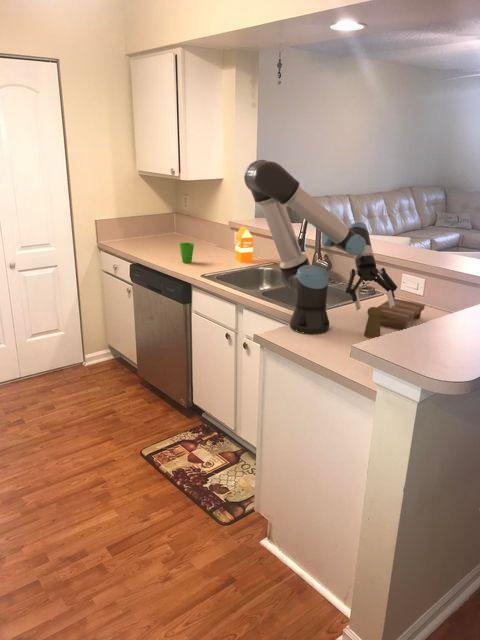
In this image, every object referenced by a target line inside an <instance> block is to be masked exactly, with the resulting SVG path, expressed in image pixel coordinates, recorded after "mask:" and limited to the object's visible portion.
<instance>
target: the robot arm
mask: <svg viewBox="0 0 480 640" xmlns="http://www.w3.org/2000/svg"><path fill="white" fill-rule="evenodd" d="M243 174H244V175H243V179H244V183H245V185H246V187H247V189H248V190H250V192H251V195H252V197H253V200H254V203H255V204H258V205H260V207H261V210H262V212H263V215H264V218H265V220H266V223H267V227H268V229H269V231H270V234H271V236H272V237H271V238H272V239H273V242H274V245H275V247H276V248H275V249H276V251H277V253H278V256H279V258H280V260H281V261H280V262H279V269H280V278H281V281H282V283H283V284H284V286H285V287H286V288H287V289H289V290H290V291H292V292H293V293H294V294H295V308H294V310H293V312H292V316H291V318H290V320H289V327H291V328H292V329H294V330H297V331H299V332H298V333H300V332H304V333H303V334H305V333H320V334H324V333H327V332H328V331H329V330H330V320H329V317H328V311H327V299H328V298H327V297H328V287H329V280H330V279H329V273H328V271H327V270H326V268H325V267H322V266H318V265H314V264H310V261H309V258H308V254H306V253H303V252H302V249H301V247H300V245H299V241H298V239H297V235H296V233H295V230H294V227H293V225H292V221H291V219H290V218H291V217H290V216H289V214H288V213H289V212H288V210H287V207H289V208H290V209H291V210H293V211H294V213H297V215H299V216H300V217H302V218H303V219H304V220H306V222H308V223H309V224H310V225H311V226H312V227H315V229H317V230H318V231H319V232H320V233H321V243H322V245H323V246H324V247H328V248H332V247H333V248H336V249H338V250H341V251H343V252H345V253H347V254H348V255H350V256H351V255H352V256H353V258H354V262H355V263H354V264H355V268H356V269H355V268H352V269H351V270H350V272H349V278H348V279H349V280H348V282H347V286H346V289H345V293H346V294H349V295H350V296H351V300H352V302H354V304H355V308H356V311H360V310H361V308H362V305H361V300H360V295H359V292H358V291H357V289H358V288H359V286H360V284H362V281H364V282H375V283H377V284H378V286H380V287H381V288H383V289H384V290H385V291H386V295H387V296H386V298H387V301H389V305H390V309H392V308H393V307H394V306H395V304H394V300H393V299H396V296H395V291H396V290H397V289H398V285H397V284H396V283H395V282H394V280H393V279H392V278H391V276H389V274H388V273H387V272H386V269H385V267H381V268H380V269H378V268H377V263H376V258H375V256H374V255H375V254H374V250H373V246H372V242H371V238H370V232H369V230H368V229H369V228H368V227H367V225H366V223H364V222H362V221H359V222H354V223H351V224H350V225H349V226H348V225H346V224H345V223H344V222H343V221H341V220H340V219H339V218H338V217H336V216H335V215H334V213H332V212H331V211H329V210H328V209H327V208H326V207H325V206H324V205H322V204H321V203H320V202H319V201H317V200H316V199H315V198H314V197H313V196H311V195H310V194H309V193H308V192H307V191H305V189H303V188H302V187H301V183H300V181H298V180H297V179H296V178H295V177H294V176H293V175H292V174H290V173H289V172H288V171H287V170H286V169H285V167H283V165H281V164H279V163H278V162H275V161H271V160H269V161H268V160H266V159H259V160H254V161H252V162H251V163H250V164H248V166H247V167H246V168H245V171H244V173H243ZM286 205H287V207H286ZM356 275H357V276H358V277H359V279H358V280H357V282H356V283H355V285H354V286H353V283H354V280H355V277H356ZM352 286H353V288H352ZM291 328H290V329H291ZM292 329H291V330H292ZM294 330H293V331H294ZM326 331H327V332H326ZM323 332H324V333H323Z"/></svg>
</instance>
